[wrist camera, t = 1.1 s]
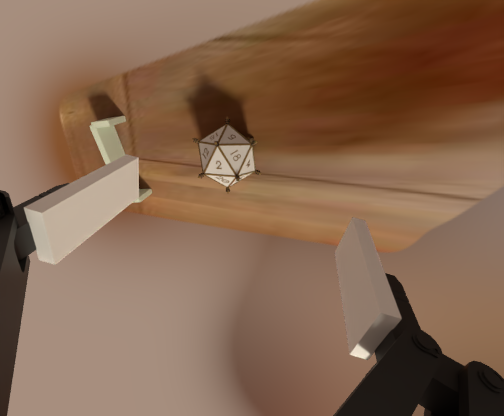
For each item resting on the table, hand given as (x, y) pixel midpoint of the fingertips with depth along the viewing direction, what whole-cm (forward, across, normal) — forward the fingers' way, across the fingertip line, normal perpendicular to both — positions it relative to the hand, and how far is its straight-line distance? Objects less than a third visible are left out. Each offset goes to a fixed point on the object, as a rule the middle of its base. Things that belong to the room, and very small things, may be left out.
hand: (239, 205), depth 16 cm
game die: (+22, -5, -4) cm, 23 cm away
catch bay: (+23, -22, -11) cm, 34 cm away
